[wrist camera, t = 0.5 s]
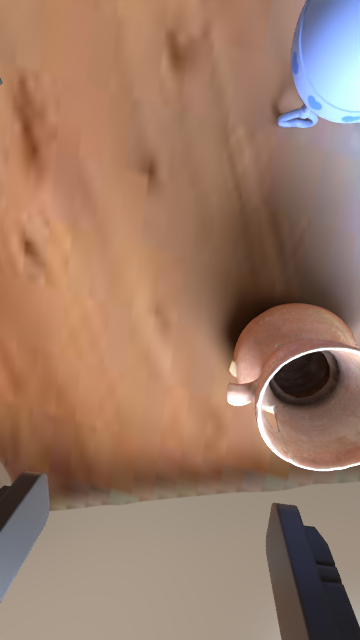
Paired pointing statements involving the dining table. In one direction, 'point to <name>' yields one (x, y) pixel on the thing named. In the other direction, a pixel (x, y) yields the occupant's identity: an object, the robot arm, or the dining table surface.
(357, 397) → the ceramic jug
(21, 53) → the dining table surface
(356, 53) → the baby rattle
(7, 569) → the robot arm
